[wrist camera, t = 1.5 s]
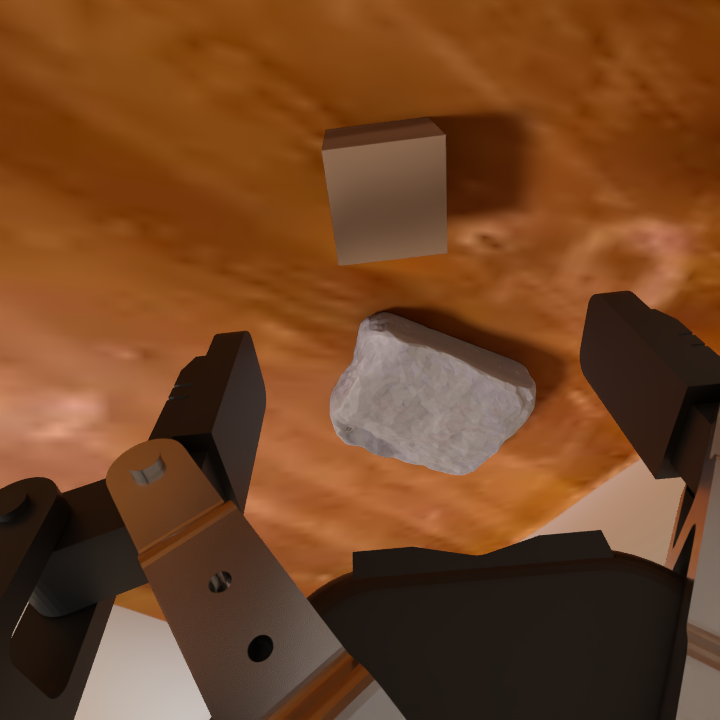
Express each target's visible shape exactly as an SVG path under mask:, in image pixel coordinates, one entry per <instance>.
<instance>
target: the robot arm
mask: <svg viewBox="0 0 720 720" xmlns="http://www.w3.org/2000/svg"><path fill="white" fill-rule="evenodd" d="M580 364H581V369H582V372H583V374H584V376H585V378H586V379H587V381H588V382H589V384H590V385H591V387H592V388H593V389H594V391H595V392H596V394H597V395H598V397H599V398H600V400H601V401H602V402H603V404H604V405H605V407H606V408H607V410H608V411H609V413H610V414H611V415H612V417H613V418H614V420H615V421H616V423H617V424H618V426H619V427H620V428H621V430H622V431H623V433H624V434H625V436H626V437H627V439H628V440H629V441H630V443H631V444H632V446H633V447H634V449H635V450H636V452H637V453H638V454H639V456H640V457H641V459H642V460H643V462H644V463H645V465H646V466H647V467H648V469H649V470H650V472H651V473H652V475H653V476H654V478H655V479H665V478H676V477H681V478H682V479H683V480H684V481H685V483H686V485H685V487H684V490H683V492H682V495H681V498H680V503H679V507H678V511H677V516H676V520H675V524H674V528H673V533H672V537H671V541H670V546H669V550H668V554H667V558H666V562H665V566H662V565H660V564H657V563H655V562H652V561H650V560H647V559H644V558H641V557H638V556H635V555H632V554H627V553H623V552H619V551H613V550H611V548H610V546H609V545H608V543H607V541H606V539H605V537H604V535H603V533H602V531H601V530H596V531H586V532H585V531H584V532H573V533H562V534H551V535H539V536H537V537H534V538H531V539H528V540H525V541H522V542H519V543H516V544H513V545H511V546H508V547H505V548H502V549H499V550H496V551H493V552H490V553H488V554H484V555H478V556H475V555H467V554H460V553H453V552H446V551H439V550H432V549H425V548H418V547H405V548H393V549H382V550H371V551H360V552H353V572H350V573H347V574H345V575H342V576H340V577H338V578H336V579H334V580H332V581H330V582H328V583H327V584H325V585H323V586H322V587H320V588H319V589H317V590H316V591H315V592H313V593H312V594H311V595H310V596H308V597H307V598H306V597H305V596H304V595H303V593H302V592H301V591H300V589H299V588H298V587H297V585H296V584H295V583H294V582H293V580H292V579H291V578H290V576H289V575H288V574H287V572H286V571H285V570H284V568H283V567H282V566H281V564H280V563H279V562H278V560H277V559H276V558H275V557H274V555H273V554H272V553H271V551H270V550H269V549H268V547H267V546H266V545H265V543H264V542H263V541H262V539H261V538H260V537H259V535H258V534H257V533H256V532H255V530H254V529H253V528H252V526H251V525H250V524H249V522H248V521H247V520H246V518H245V517H244V516H243V514H244V509H245V504H246V499H247V494H248V490H249V485H250V480H251V475H252V470H253V466H254V461H255V456H256V451H257V446H258V442H259V437H260V432H261V427H262V422H263V418H264V413H265V408H266V392H265V385H264V381H263V377H262V374H261V370H260V366H259V363H258V359H257V355H256V352H255V348H254V345H253V341H252V338H251V335H250V333H249V332H248V331H240V332H230V333H221V334H216V335H215V336H214V338H213V340H212V343H211V345H210V347H209V350H208V352H207V355H206V356H199V357H195V358H194V359H193V360H192V361H191V362H190V363H189V364H188V365H187V366H186V367H185V368H183V369H182V370H181V372H180V374H179V376H178V378H177V381H176V383H175V385H174V386H175V388H173V389H172V391H171V393H170V395H169V397H168V398H169V400H167V402H166V404H165V406H164V408H163V410H162V412H161V414H160V416H159V418H158V420H157V422H156V425H155V427H154V429H153V431H152V433H151V435H150V437H149V439H148V441H146V442H143V443H140V444H138V445H136V446H134V447H132V448H130V449H129V450H127V451H126V452H124V453H123V454H122V455H120V456H119V457H118V458H117V459H116V460H115V461H114V462H113V464H112V465H111V467H110V468H109V470H108V472H107V475H106V478H105V479H103V480H100V481H97V482H94V483H91V484H88V485H85V486H82V487H79V488H76V489H73V490H70V491H67V492H64V493H61V492H60V490H59V489H58V487H57V486H56V484H55V483H54V482H53V481H52V480H50V479H48V478H44V477H33V478H27V479H23V480H20V481H17V482H14V483H12V484H10V485H8V486H6V487H4V488H2V489H0V720H74V717H75V715H76V711H77V709H78V706H79V703H80V700H81V697H82V694H83V691H84V688H85V685H86V682H87V679H88V676H89V674H90V671H91V668H92V665H93V662H94V659H95V656H96V653H97V650H98V647H99V645H100V642H101V639H102V636H103V633H104V630H105V627H106V623H107V621H108V618H109V615H110V612H111V610H112V607H113V604H114V601H115V598H116V595H118V594H121V593H123V592H126V591H128V590H131V589H134V588H136V587H139V586H141V585H144V584H146V583H149V584H150V586H151V588H152V590H153V592H154V594H155V597H156V599H157V601H158V603H159V605H160V607H161V609H162V611H163V614H164V616H165V618H166V620H167V622H168V624H169V626H170V628H171V631H172V633H173V635H174V637H175V639H176V641H177V644H178V646H179V648H180V650H181V652H182V654H183V656H184V658H185V661H186V663H187V665H188V667H189V669H190V671H191V673H192V676H193V678H194V680H195V682H196V684H197V686H198V688H199V691H200V693H201V695H202V697H203V699H204V701H205V703H206V705H207V707H208V710H209V712H210V714H211V716H212V717H211V718H210V720H720V356H719V355H717V354H716V353H715V352H714V351H713V350H712V349H711V348H709V347H708V346H705V343H704V342H702V341H701V340H700V339H699V338H698V337H697V336H696V335H692V332H691V331H690V330H689V329H688V328H686V327H685V326H684V325H683V324H682V323H681V322H680V321H678V320H677V319H675V318H673V317H671V316H669V315H667V314H664V313H662V312H660V311H658V310H656V309H650V308H649V307H648V306H647V305H646V304H645V303H643V302H642V301H641V300H640V299H639V298H638V297H637V296H636V295H635V294H634V293H632V292H631V291H619V292H610V293H601V294H594V295H593V296H592V297H591V298H590V301H589V304H588V309H587V314H586V320H585V325H584V331H583V337H582V342H581V348H580ZM28 601H29V604H28V606H27V608H26V610H25V612H24V614H23V616H22V618H21V620H20V622H19V624H18V626H17V628H16V630H15V632H14V634H13V636H12V633H13V631H14V629H15V627H16V625H17V623H18V621H19V619H20V616H21V615H22V613H23V611H24V608H25V606H26V605H27V602H28ZM11 637H12V638H11Z"/></svg>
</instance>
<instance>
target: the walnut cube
mask: <svg viewBox="0 0 720 720" xmlns="http://www.w3.org/2000/svg"><path fill="white" fill-rule="evenodd" d="M322 156H323V162H324V169H325V176H326V183H327V190H328V196H329V203H330V210H331V217H332V223H333V230H334V237H335V244H336V250H337V257H338V264H339V266H341V265H350V264H358V263H367V262H376V261H384V260H393V259H401V258H410V257H418V256H427V255H435V254H444V253H447V191H446V135H445V133H444V132H443V131H442V130H441V129H440V128H439V127H438V126H437V125H436V124H435V123H434V122H433V121H432V120H431V119H430V118H429V117H422V118H414V119H406V120H399V121H391V122H383V123H375V124H368V125H360V126H352V127H344V128H337V129H329V130H326V131H325V136H324V141H323V147H322Z"/></svg>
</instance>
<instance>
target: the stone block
mask: <svg viewBox="0 0 720 720" xmlns="http://www.w3.org/2000/svg"><path fill="white" fill-rule="evenodd" d="M535 398H536V384H535V382H534V380H533V379H532V378H531V377H530V375H529V372H528V370H527V369H526V367H525V366H524V365H522V364H521V363H519V362H517V361H515V360H512V359H510V358H507V357H505V356H502V355H499V354H497V353H494V352H491V351H489V350H486V349H483V348H481V347H478V346H475V345H473V344H470V343H468V342H465V341H462V340H460V339H457V338H454V337H451V336H449V335H447V334H444V333H442V332H439V331H436V330H433V329H429V328H427V327H425V326H423V325H421V324H418V323H415V322H413V321H410V320H408V319H405V318H403V317H400V316H397V315H395V314H392V313H387V312H381V313H379V314H375V315H372V316H368V317H367V318H366V319H365V320H364V321H363V322H361V324H360V327H359V331H358V337H357V344H356V346H355V350H354V358H353V361H352V363H351V364H350V365H349V367H348V368H347V369H346V371H345V372H344V373H343V374H342V375H341V376H340V378H339V380H338V383H337V384H336V386H335V387H334V389H333V391H332V394H331V398H330V417H331V420H332V424H333V426H334V429H335V432H336V434H337V435H338V436H339V437H340V438H341V439H342V440H343V441H344V443H346V444H349V445H354V446H360V447H363V448H365V449H367V450H368V451H369V452H370V453H373V454H376V455H379V456H382V457H388V458H392V457H395V458H397V459H399V460H402V461H404V462H407V463H412V464H415V465H425V466H427V467H428V468H429V469H432V470H436V471H440V472H444V473H449V474H453V475H455V474H456V475H464V474H468V473H470V472H472V471H475V470H476V469H477V468H478V467H479V466H480V465H481V464H482V463H484V462H485V461H486V460H487V459H488V458H489V457H491V456H492V455H493V454H495V453H496V452H498V450H499V449H500V447H501V445H502V444H503V443H504V442H505V440H507V439H508V438H510V437H511V436H512V435H514V434H515V433H516V431H517V430H518V429H519V428H520V427H521V426H522V425H523V424H524V423H525V422H526V421H527V419H528V418H529V416H530V414H531V412H532V411H533V409H534V407H535Z"/></svg>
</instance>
